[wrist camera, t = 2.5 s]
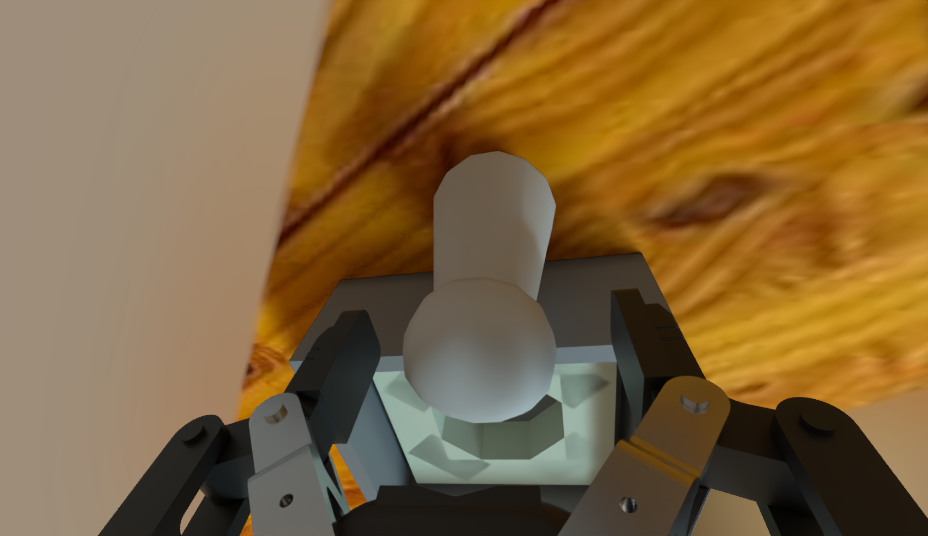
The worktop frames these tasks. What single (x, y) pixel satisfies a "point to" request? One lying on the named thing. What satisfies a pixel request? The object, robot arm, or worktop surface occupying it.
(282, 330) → the worktop surface
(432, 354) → the salt shaker
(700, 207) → the worktop surface
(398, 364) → the bore box
